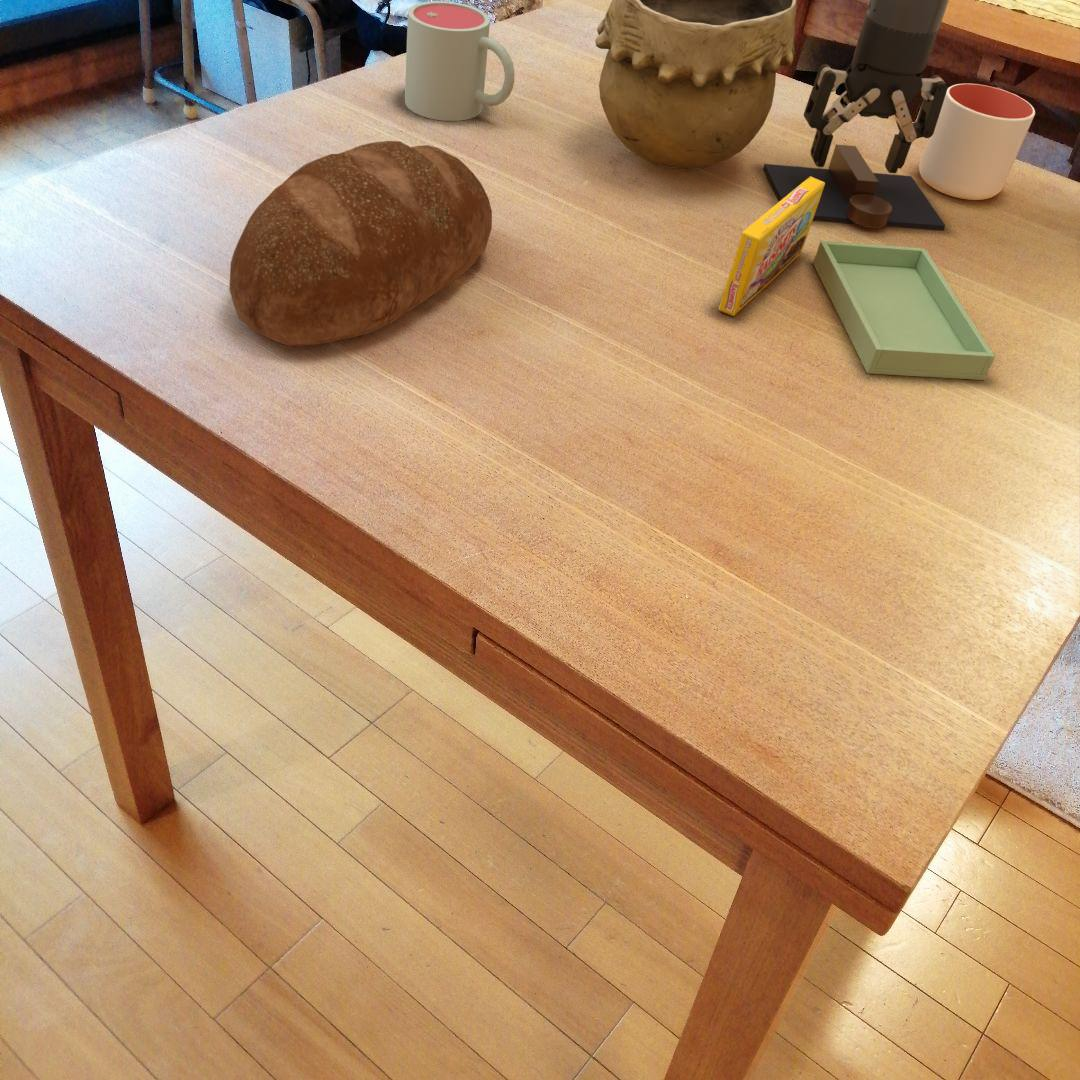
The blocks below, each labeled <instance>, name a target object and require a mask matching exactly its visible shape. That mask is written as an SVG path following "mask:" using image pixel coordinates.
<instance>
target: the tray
mask: <svg viewBox="0 0 1080 1080" xmlns="http://www.w3.org/2000/svg"><path fill="white" fill-rule="evenodd" d="M812 264H813V266H814V268H815V270H816V272H817V274H818V276H819V278H820V280H821V282H822V285H823V287H824V289H825V291H826V293H827V295H828V296H829V298H830V301H831V303H832V305H833V307H834V309H835V311H836V313H837V316H838V317H839V320H840V321H841V324H842V325H843V327H844V329H845V331H846V333H847V336H848V337H849V339H850V341H851V343H852V345H853V347H854V349H855V352H856V353H857V356H858V358H859V359H860V361H861V364H862V365H863V368H864V370H865V373H866V374H869V375H872V374H873V375H891V376H907V377H925V378H926V377H927V378H941V379H942V378H943V379H960V380H975V381H977V380H978V381H984V380H985V379H986V377H987V375H988V372H989V371H990V368H991V366H992V364H993V363H994V360H995V359H996V355H995V354H994V352H993V351H992V349H991V347H990V346H989V344H988V343H987V341H986V340H985V338H984V337H983V335H982V334H981V331H980V330H979V329H978V327H977V326H976V324H975V323H974V321H973V319H972V318H971V316H970V315H969V314H968V312H967V310H966V309H965V307H964V306H963V304H962V302H961V301H960V300H959V298H958V297H957V295H956V294H955V292H954V291H953V289H952V287H951V286H950V284H949V282H948V281H947V279H946V278H945V276H944V275H943V273H942V272H941V270H940V269H939V267H938V266H937V264H936V263H935V261H934V259H933V258H932V256H931V255H930V253H929V251H928V250H927V249H926V248H924V247H914V246H913V247H912V246H911V247H910V246H898V245H886V244H885V245H883V244H871V243H860V242H859V243H857V242H844V241H831V240H820V241H819V244H818V247H817V251H816V253H815V257H814V259H813V262H812Z"/></svg>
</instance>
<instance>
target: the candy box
mask: <svg viewBox="0 0 1080 1080" xmlns="http://www.w3.org/2000/svg"><path fill="white" fill-rule="evenodd" d="M824 185H825V182H823V181H820V180H818V179H815V178H813V177H811V176H810V177H809V178H808V179H807V180H805V181H804V182H803V183H801V184H800V185H799V186H798V187H797V188H795V189H794V190H793V191H792V192H790V193H789V194H788V195H787V196H786V197H784V198H783V199H782V200H781V201H780V202H779V201H778V202H777V203H776V204H774V206H772V207H771V208H769V209H768V211H766V212H765V213H763V214H762V215H761V216H760V217H758V218H757V219H756V220H755V221H754V222H753V223H751V224H750V225H749V226H748V227H747V228H745V229H744V230H743V231H742V233H741V236H740V239H739V241H738V242H739V243H738V246H737V249H736V251H735V254H734V258H733V262H732V263H731V267H730V272H729V273H728V277H727V279H726V284H725V286H724V290H723V293H722V296H721V300H720V303H719V306H718V311H719V312H721V313H723V314H727V315H729V316H732V317H735V316H736V315H737V314H738V313H739V312H740V311H741V310H742V309H743V308H744V307H745V306H746V305H748V303H750V302H751V301H752V300H753V299H754V298H755V297H757V295H759V294H760V293H761V292H763V291H762V290H764V289H765V288H766V287H767V286H769V285H770V283H772V281H774V280H775V279H776V278H777V277H778V276H779V275H780V274H781V273H782V272H783V271H784V270H785V269H786V268H787V267H789V265H791V264H792V262H794V261H795V260H796V259H797V258H798V257H799V256H801V254H802V251H803V248H804V246H805V243H806V240H807V238H808V234H809V232H810V229H811V227H812V223H813V221H814V220H813V218H814V215H815V212H816V209H817V206H818V203H819V201H820V198H821V194H822V191H823V188H824Z"/></svg>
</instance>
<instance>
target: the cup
mask: <svg viewBox="0 0 1080 1080" xmlns="http://www.w3.org/2000/svg"><path fill="white" fill-rule="evenodd" d="M1035 115H1036V110H1035V108H1034V106H1033V105H1032V104H1031V103H1030V102H1029V101H1027V100H1026V99H1024V98H1022V97H1021V96H1019V95H1017V94H1015V93H1012V92H1009V91H1007V90H1004V89H1001V88H998V87H994V86H991V85H990V86H989V85H985V84H979V83H957V84H953V85H951V86H949V87H948V89H947V92H946V95H945V99H944V102H943V105H942V108H941V111H940V115H939V118H938V121H937V124H936V127H935V131H934V134H933V135H932V136H931V137H930V138H927V141H926V144H925V147H924V149H923V152H922V155H921V157H920V161H919V163H918V171H919V174H920V176H921V178H922V180H923V181H924V182H925V184H926V185H928V186H929V187H931V188H933V189H934V190H935V191H937V192H939V193H942V194H944V195H946V196H950V197H953V198H957V199H960V200H968V201H982V200H987V199H990V198H994V197H995V196H997V195H999V193H1000V192H1001V191H1002V190H1003V188H1004V186H1005V184H1006V182H1007V179H1008V177H1009V175H1010V173H1011V170H1012V168H1013V166H1014V163H1015V162H1016V160H1017V157H1018V155H1019V152H1020V150H1021V148H1022V145H1023V143H1024V141H1025V138H1026V136H1027V135H1028V132H1029V129H1030V127H1031V124H1032V122H1033V120H1034V117H1035Z"/></svg>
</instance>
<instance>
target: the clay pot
mask: <svg viewBox="0 0 1080 1080" xmlns="http://www.w3.org/2000/svg"><path fill="white" fill-rule="evenodd" d="M796 14H797V0H611V2H610V4H609V6H608V9H607V10H606V13H605V15H604V18H602V20H600V21H601V22H600V23H599V24H598V26H597V29H596V31H597V36H596V37H595V41H594V42H595V47H596V48H598V49H600V50H602V49H603V50H607V52H606V55H605V59H604V62H603V65H602V69H601V73H600V78H599V82H598V90H599V100H600V103H601V106H602V109H603V112H604V115H605V117H606V119H607V122H608V123H609V126H610V127H611V130H612V131H613V133H614V134H615V136H616V137H617V138H618V140H619V141H620V142H621V143H622V144H623V145H624V146H625V148H627V149H629V150H630V151H631V152H632V153H634V154H635V155H637V156H639V157H640V158H643V159H644V160H646V161H648V162H650V163H652V164H653V165H657V166H660V167H664V168H667V169H668V168H669V169H679V170H697V169H703V168H708V167H712V166H716V165H718V164H721V163H724V162H725V161H727V160H729V159H731V158H732V157H734V156H736V155H737V154H739V153H741V152H742V151H743V150H744V149H746V147H747V146H748V145H749V144H750V143H751V142H752V141H753V140H754V139H755V137H756V136H757V135H758V133H759V132H760V130H761V129H762V128H763V126H764V124H765V123H766V120H767V118H768V115H769V114H770V111H771V109H772V105H773V102H774V96H775V89H776V81H777V79H776V78H777V73H778V71H780V66H785V67H792V65H793V61H794V57H795V54H796V53H795V47H794V46H795V45H794V39H795V29H796V16H797V15H796Z"/></svg>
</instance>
